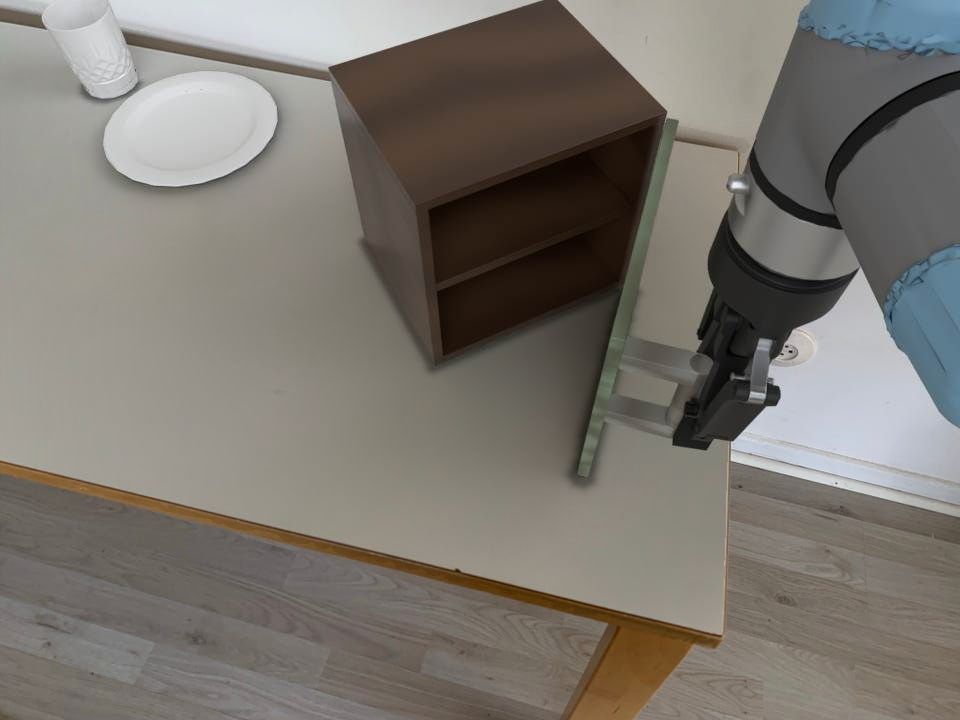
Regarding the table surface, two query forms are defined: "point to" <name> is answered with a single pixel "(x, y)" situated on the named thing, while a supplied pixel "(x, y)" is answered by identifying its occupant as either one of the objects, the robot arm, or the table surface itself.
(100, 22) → the white cup
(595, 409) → the cupboard door
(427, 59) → the cupboard
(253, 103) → the plate
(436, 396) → the table surface
